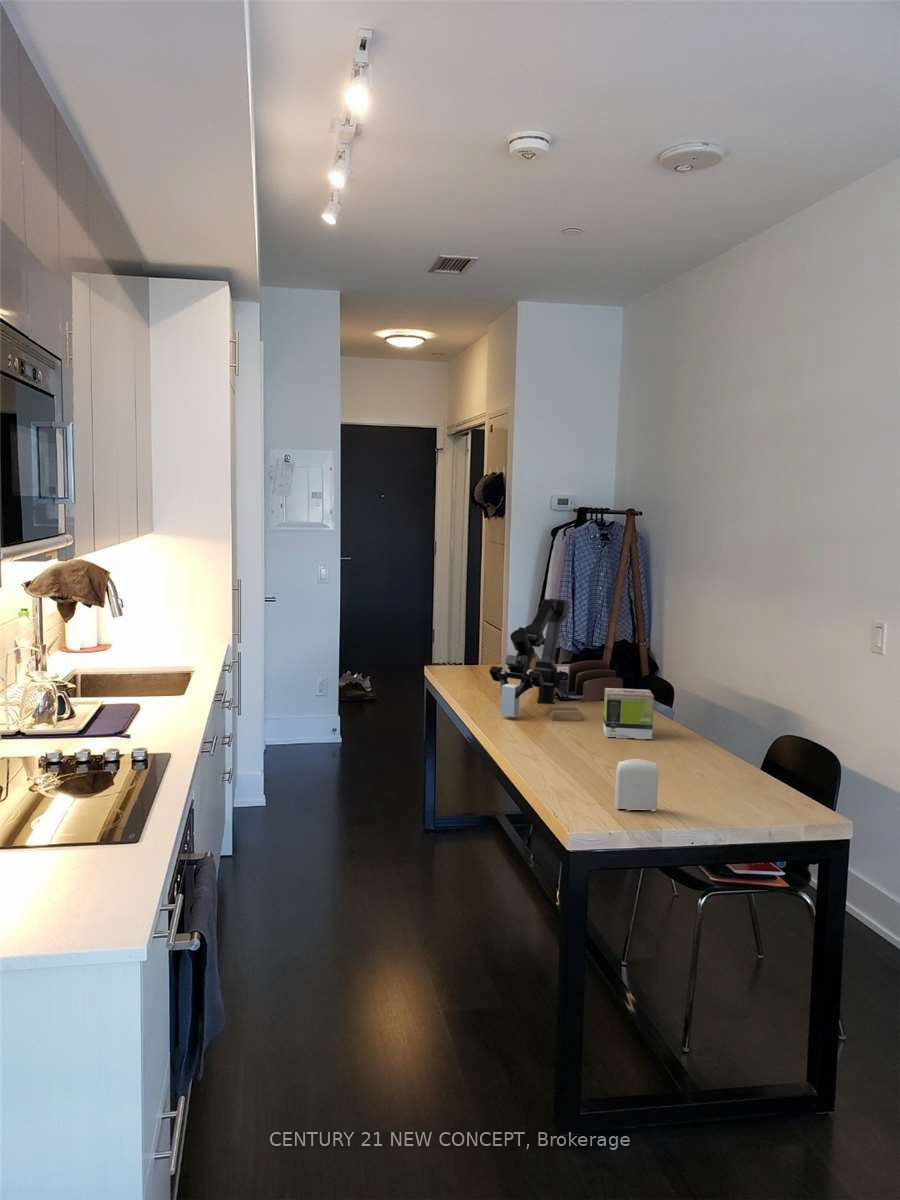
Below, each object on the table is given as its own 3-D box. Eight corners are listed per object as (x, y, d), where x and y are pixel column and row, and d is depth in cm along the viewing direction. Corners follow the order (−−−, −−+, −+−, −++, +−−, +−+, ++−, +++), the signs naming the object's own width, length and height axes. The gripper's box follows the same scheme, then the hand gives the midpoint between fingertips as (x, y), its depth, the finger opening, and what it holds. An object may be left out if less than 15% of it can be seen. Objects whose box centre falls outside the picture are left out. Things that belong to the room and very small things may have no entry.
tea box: (648, 733, 292) (651, 689, 290) (652, 741, 282) (655, 695, 280) (602, 730, 293) (604, 686, 292) (604, 738, 283) (607, 692, 282)
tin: (505, 712, 306) (506, 683, 305) (518, 714, 304) (519, 685, 303) (500, 714, 303) (501, 685, 302) (513, 717, 301) (515, 687, 299)
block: (546, 715, 313) (546, 705, 312) (573, 715, 314) (574, 706, 314) (552, 722, 303) (553, 712, 303) (581, 722, 304) (581, 712, 304)
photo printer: (615, 811, 215) (618, 761, 213) (612, 805, 219) (615, 756, 217) (658, 813, 214) (661, 763, 213) (654, 807, 218) (657, 758, 217)
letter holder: (566, 697, 343) (568, 661, 341) (605, 693, 353) (607, 658, 352) (582, 702, 335) (585, 666, 333) (622, 698, 345) (624, 663, 343)
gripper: (492, 643, 309) (477, 679, 300) (542, 648, 300) (527, 686, 292) (501, 662, 316) (486, 697, 308) (550, 668, 308) (536, 705, 299)
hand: (508, 696), depth 302 cm, fingers closed on tin, 5 cm apart
